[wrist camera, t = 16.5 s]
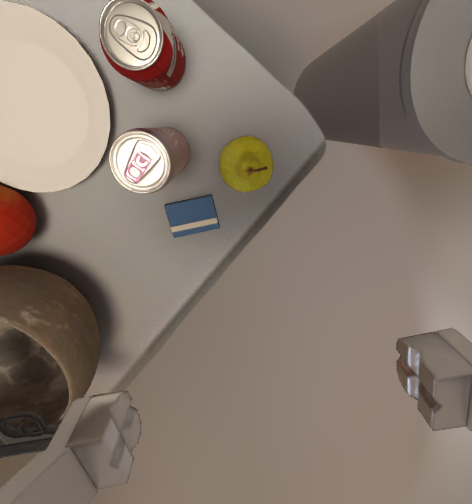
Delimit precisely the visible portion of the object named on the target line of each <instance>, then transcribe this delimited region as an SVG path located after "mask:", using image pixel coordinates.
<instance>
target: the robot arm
mask: <svg viewBox="0 0 472 504" xmlns="http://www.w3.org/2000/svg"><path fill="white" fill-rule="evenodd" d="M465 76H466V82H467V86H468V89H469V91H470V94H471V95H472V37H471V40H470V42H469V46H468V50H467V54H466V61H465ZM396 345H397V347H396V349H397V351H398V352H399V354H400V355H401V356H400V357H399V359H398V360H397V372H398V376H399V379H400V382H401V384H402V386H403V388H404V389H405V391H406V392H407V394H408V395H409V396H411V397H413V398H414V399H416V400H418V410H419V411H420V413H421V414H422V416H423V417H424V419H425V420H426V422H427V423H428V425H429V426H430V427H431V429H432V430H433V431H438V430H445V429H452V428H459V427H466V426H467V428H468V429H469V430H470V431H472V343H471V342H470V341H469V340H468V339H466V338H465V337H464V336H463V335H462V334H461V333H460V332H458V331H457V330H456V329H453V328H449V329H444V330H440V331H434V332H430V333H425V334H420V335H415V336H409V337H405V338H399V339H398V341H397V344H396ZM131 400H132V398H131V396H130V394H129V393H128V391H124V390H123V391H117V392H111V393H105V394H99V395H93V396H89V397H82V398H77V399H76V400H75V401H73V402H72V404H71V406H70V408H69V410H68V411H67V413H66V415H65V417H64V419H63V420H62V422H61V424H60V426H59V428H58V429H57V431H56V433H55V435H54V437H53V438H52V440H51V442H50V444H49V446H48V447H47V449H46V451H45V452H40V453H39V454H38V455H37V456H36V457H34V458H33V459H32V460H31V461H30V462H29V463H28V464H27V465H26V466H24V467H23V468H22V469H21V470H20V471H19V472H18V473H17V474H15V476H13V477H12V478H11V479H10V480H9V481H8V482H7V483H6V484H4V485H3V486H2V487H1V488H0V504H89V503H90V502H91V500H92V499H93V498H94V496H95V495H96V493H97V492H98V491H97V490H99V489H104V488H109V487H113V486H118V485H124V484H127V482H128V479H129V475H130V472H131V468H132V465H133V460H134V457H133V455H132V453H131V451H132V450H133V449H134V448H135V447H136V445H137V444H138V443H139V439H140V435H141V420H140V415H139V413H138V410H137V409H136V408H134V407H132V406H131V405H130V403H131Z"/></svg>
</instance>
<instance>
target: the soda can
mask: <svg viewBox="0 0 472 504" xmlns="http://www.w3.org/2000/svg"><path fill="white" fill-rule="evenodd" d="M99 34H100V42H101V46H102V49H103V52H104V54H105V56H106V58H107V60H108V61H109V63H110V64H111V65H112V66H113V68H114V69H115V70H117V71H118V72H119V73H120V74H122V75H123V76H125V77H127V78H129V79H131V80H133V81H135V82H137V83H139V84H141V85H143V86H145V87H147V88H149V89H152V90H156V91H165V90H169V89H171V88H173V87H174V86H175V85H177V84H178V82H179V81H180V80H181V78H182V76H183V74H184V71H185V64H186V59H185V53H184V49H183V47H182V45H181V43H180V41H179V39H178V37H177V35H176V33H175V31H174V30H173V28H172V26H171V24H170V22H169V20H168V18H167V17H166V15H165V14H164V12H163V11H162V10H161V8H160V7H159V6H158V5H157V4H156V3H154V2H153V1H152V0H110V1H109V2H108V3H107V4H106V6H105V7H104V9H103V11H102V13H101V16H100V21H99Z"/></svg>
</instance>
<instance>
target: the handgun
mask: <svg viewBox="0 0 472 504" xmlns="http://www.w3.org/2000/svg"><path fill="white" fill-rule="evenodd" d="M19 418H23V420H22V421H21V422H20V424H19V425H18V429H17V428H14V427H12V426H10V425H9V424H8V423H7V421H8V420H14V419H19ZM26 418H30V419H32V420H34V421H36V422H37V423H38V425H39V428H35V427H34V428H27V429H26V428H25V426H24V421H25V420H26ZM59 426H60V425H48V426H46V424H45V423H44V421H43V419H42V418H41V417H40V416H38V415H37V414H34V413H29V412H25V413H19V414H12V415H10V416H8V417H3V418H2V417H0V458H3V457H9V456H15V455H21V454H26V453H32V452H39V451H45V450H46V449H47V447H48V446H49V444H50V442H51V440H52V438H53V437H54V435H55V433H56V431H57V429H58V428H59Z"/></svg>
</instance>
